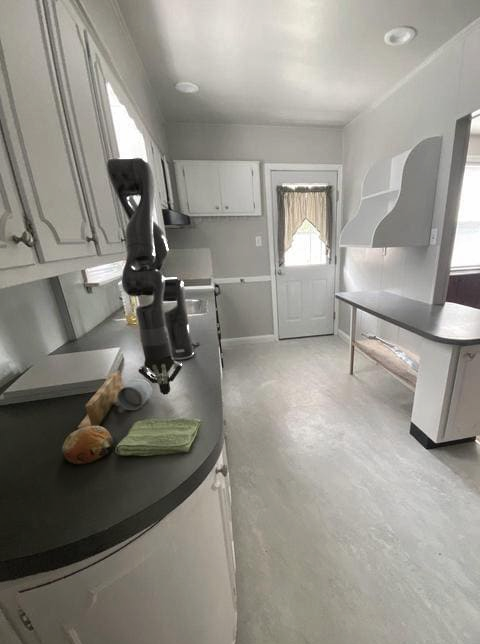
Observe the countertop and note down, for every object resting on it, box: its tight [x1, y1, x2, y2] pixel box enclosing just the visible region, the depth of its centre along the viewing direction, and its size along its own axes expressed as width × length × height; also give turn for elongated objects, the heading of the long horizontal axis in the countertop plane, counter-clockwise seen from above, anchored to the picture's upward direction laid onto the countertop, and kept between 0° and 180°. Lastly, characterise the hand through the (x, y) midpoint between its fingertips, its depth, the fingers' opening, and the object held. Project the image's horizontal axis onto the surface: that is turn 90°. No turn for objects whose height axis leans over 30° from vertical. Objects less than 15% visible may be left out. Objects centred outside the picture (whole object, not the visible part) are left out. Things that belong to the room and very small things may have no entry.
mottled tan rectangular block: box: [77, 369, 124, 430], centre depth 91 cm, size 24×5×7 cm, turn 11°
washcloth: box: [115, 417, 202, 457], centre depth 76 cm, size 13×18×3 cm
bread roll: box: [61, 425, 114, 465], centre depth 72 cm, size 10×10×8 cm
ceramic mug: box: [113, 378, 153, 411], centre depth 93 cm, size 11×8×8 cm
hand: (166, 393), depth 95 cm, fingers closed
